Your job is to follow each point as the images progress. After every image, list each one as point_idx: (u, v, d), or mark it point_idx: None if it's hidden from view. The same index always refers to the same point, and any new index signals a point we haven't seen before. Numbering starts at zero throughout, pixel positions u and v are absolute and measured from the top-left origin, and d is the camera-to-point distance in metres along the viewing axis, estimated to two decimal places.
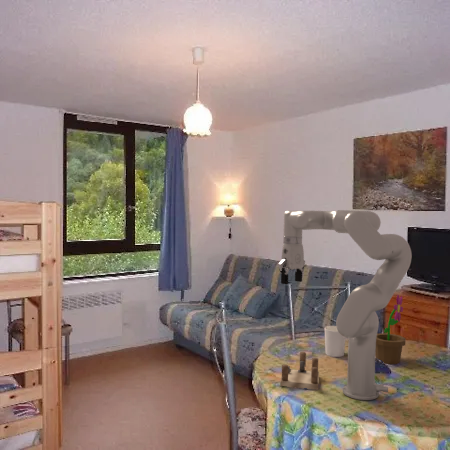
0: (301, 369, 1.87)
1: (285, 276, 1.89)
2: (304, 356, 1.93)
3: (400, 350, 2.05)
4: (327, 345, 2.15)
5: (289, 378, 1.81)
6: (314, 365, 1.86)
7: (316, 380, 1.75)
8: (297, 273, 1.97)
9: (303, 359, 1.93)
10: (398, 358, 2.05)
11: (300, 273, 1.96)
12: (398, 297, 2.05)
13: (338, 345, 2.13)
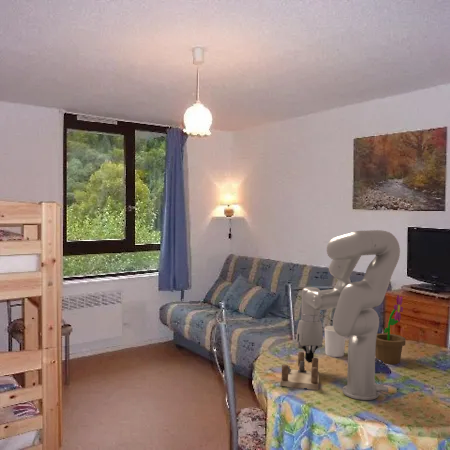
0: (301, 369, 1.87)
1: None
2: (303, 356, 1.93)
3: (400, 350, 2.05)
4: (327, 345, 2.15)
5: (289, 378, 1.81)
6: (314, 365, 1.86)
7: (316, 380, 1.75)
8: None
9: (302, 359, 1.93)
10: (398, 358, 2.05)
11: None
12: (398, 297, 2.05)
13: (338, 345, 2.13)
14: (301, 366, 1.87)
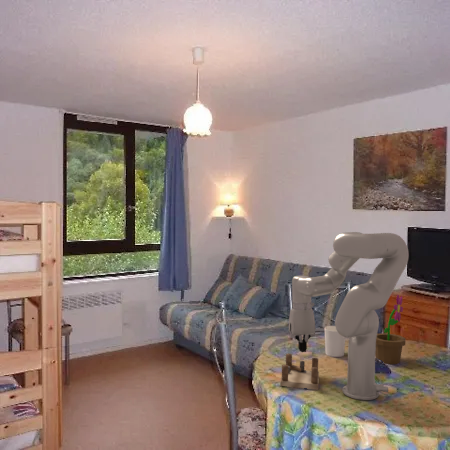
0: (303, 369, 1.87)
1: None
2: (291, 357, 1.91)
3: (400, 350, 2.05)
4: (327, 345, 2.15)
5: (289, 378, 1.81)
6: (314, 365, 1.86)
7: (316, 380, 1.75)
8: None
9: (291, 360, 1.91)
10: (398, 358, 2.05)
11: None
12: (398, 297, 2.05)
13: (338, 345, 2.13)
14: (303, 366, 1.87)
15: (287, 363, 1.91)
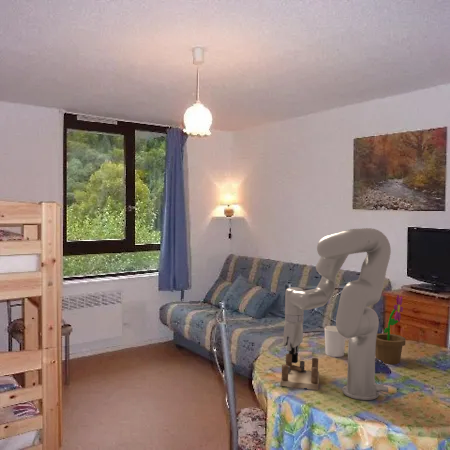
0: (303, 369, 1.87)
1: None
2: (291, 357, 1.91)
3: (400, 350, 2.05)
4: (327, 345, 2.15)
5: (289, 378, 1.81)
6: (314, 365, 1.86)
7: (316, 380, 1.75)
8: None
9: (291, 360, 1.91)
10: (398, 358, 2.05)
11: None
12: (398, 297, 2.05)
13: (338, 345, 2.13)
14: (303, 366, 1.87)
15: (287, 363, 1.91)
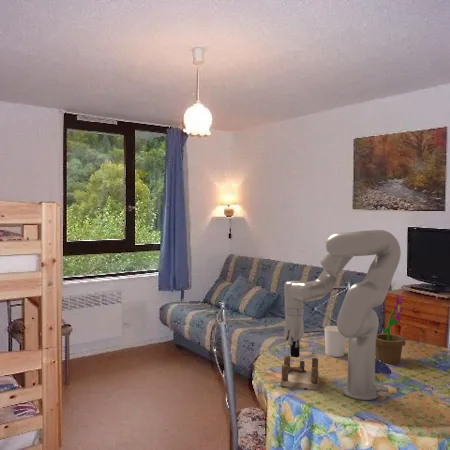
0: None
1: None
2: None
3: (400, 350, 2.05)
4: (327, 345, 2.15)
5: (289, 378, 1.81)
6: (314, 365, 1.86)
7: (316, 380, 1.75)
8: None
9: None
10: (398, 358, 2.05)
11: None
12: (398, 297, 2.05)
13: (338, 345, 2.13)
14: None
15: None
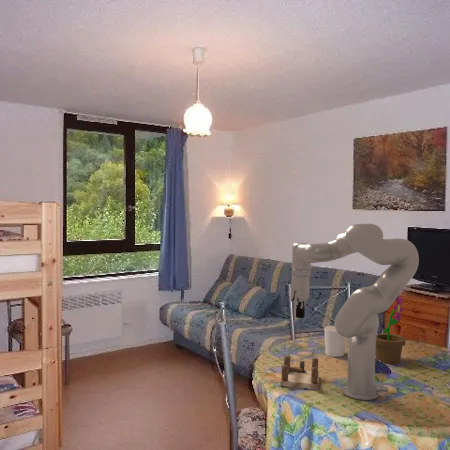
0: None
1: None
2: None
3: (400, 350, 2.05)
4: (327, 345, 2.15)
5: (289, 378, 1.81)
6: (314, 365, 1.86)
7: (316, 380, 1.75)
8: None
9: None
10: (398, 358, 2.05)
11: None
12: (398, 297, 2.05)
13: (338, 345, 2.13)
14: None
15: None
